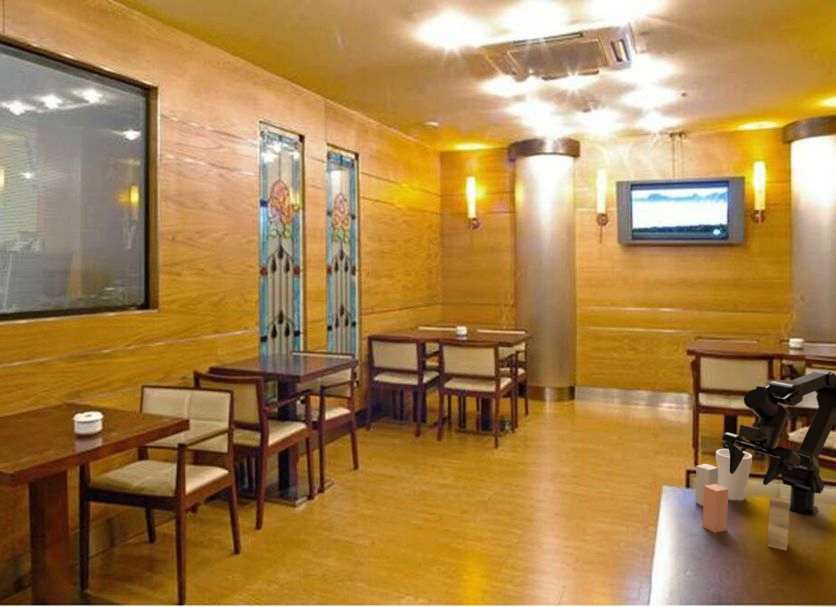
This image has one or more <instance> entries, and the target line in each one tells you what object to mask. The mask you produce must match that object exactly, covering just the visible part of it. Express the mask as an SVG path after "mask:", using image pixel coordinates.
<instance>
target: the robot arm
mask: <svg viewBox="0 0 836 607" xmlns="http://www.w3.org/2000/svg"><path fill="white" fill-rule="evenodd" d="M813 392H815V393H816V396H815V398H816V401H817V406H818V407H817V410H816V412H815V414H814V416H813V418H812V421H811V423H810V425H809V426H808V429H807V430H806V433H805V435H804V438H803V440H802V442H801V444H800V446H799V448H798V450H796V451H793V450H792V449H790V448H787V447H784V446H779V445H778V446H776V445H777V442H778V441H779V440H782V439H783V435H782V430H783V428H784V426H785V423H786V421H787V419H792V413H791V411H790V408H789V407H784V406H783V405H785V406H791V407H795V406H796V405H798V404H799V403H801V402H802V401H804V398H803V397H804V396H807V395H809V394H811V393H813ZM743 404H744V405H745V406H746V407H747V408H748V409H749V410H750V411H751V412H753V413H754V414H755V415H756V416H757V417H759V418H758V421H757V422H756V421H754V422H753V423H752V425H747V424H741V423H740V424H739V428H738V432H737V433H738V434H734V433H731V432H725V433H724V434H723V435H722V438H721V439H720V440H721V441H722V442H723V443H724V445H725V447H727V449H729V452H730V473H731V474H733V473H734V472H735V471H736V469H737V467H738V466H739V464H740V462H741V460H742V459H743V457H744V455H745V454H744V453H743V451H745V452H746V450H749V451H753V452H756V453H759V454H764V455H767V456H770V464H769V466H768V468H767V471H766V473H765V475H764V478H763V481H762V485H764V486H767V485H769V483H771V482H772V481H773V480H774V479H776V478H778V477H779V476H780V475H781V478H782V479H781V480H782V484H783V485H786V486H789V487H790V498H789V501H790V509H789V511H794V512H796V513H797V512H798V513H800V514H806V515H809V516H813V515H814V514H816V512H817V511H818V509H819V507H818V506H816V505H815V494H822V492H823V491H824V488H825V481H823V479H822V478H821V477H820V472H821V469H820V465H819V462H818V461H819V460H818V459H819V457H820V455H821V453H822V450H823V449H824V446H825V443H826V442H827V439H828V437H829V435H830V433H831V431H832V428H833V426H834V424H835V423H836V373H834V372H833V371H826V370H821V369H815V370H813V371H812V372H810V373H808V374H805V375H803V376H800V377H798V378H794V379H792V380H781V379H780V380H773V381H771V382H769V383H768V384H767V386H763V385H758V384H757V385H756V388H754V389H751V390H749V391H748V392H747V393H746V394H745V395H744V397H743Z"/></svg>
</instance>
